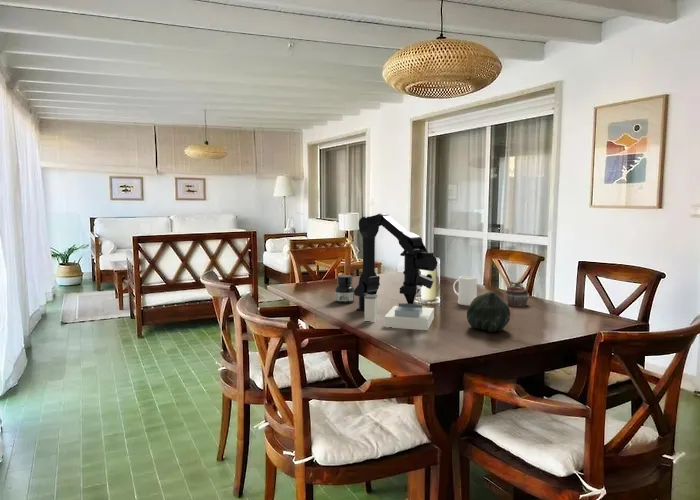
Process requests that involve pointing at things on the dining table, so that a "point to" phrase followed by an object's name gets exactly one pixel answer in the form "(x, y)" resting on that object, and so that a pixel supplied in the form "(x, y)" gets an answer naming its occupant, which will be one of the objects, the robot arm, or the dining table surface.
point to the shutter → (408, 310)
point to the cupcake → (517, 294)
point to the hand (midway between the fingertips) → (411, 308)
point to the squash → (488, 312)
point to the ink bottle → (344, 289)
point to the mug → (466, 289)
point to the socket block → (409, 320)
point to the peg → (370, 307)
